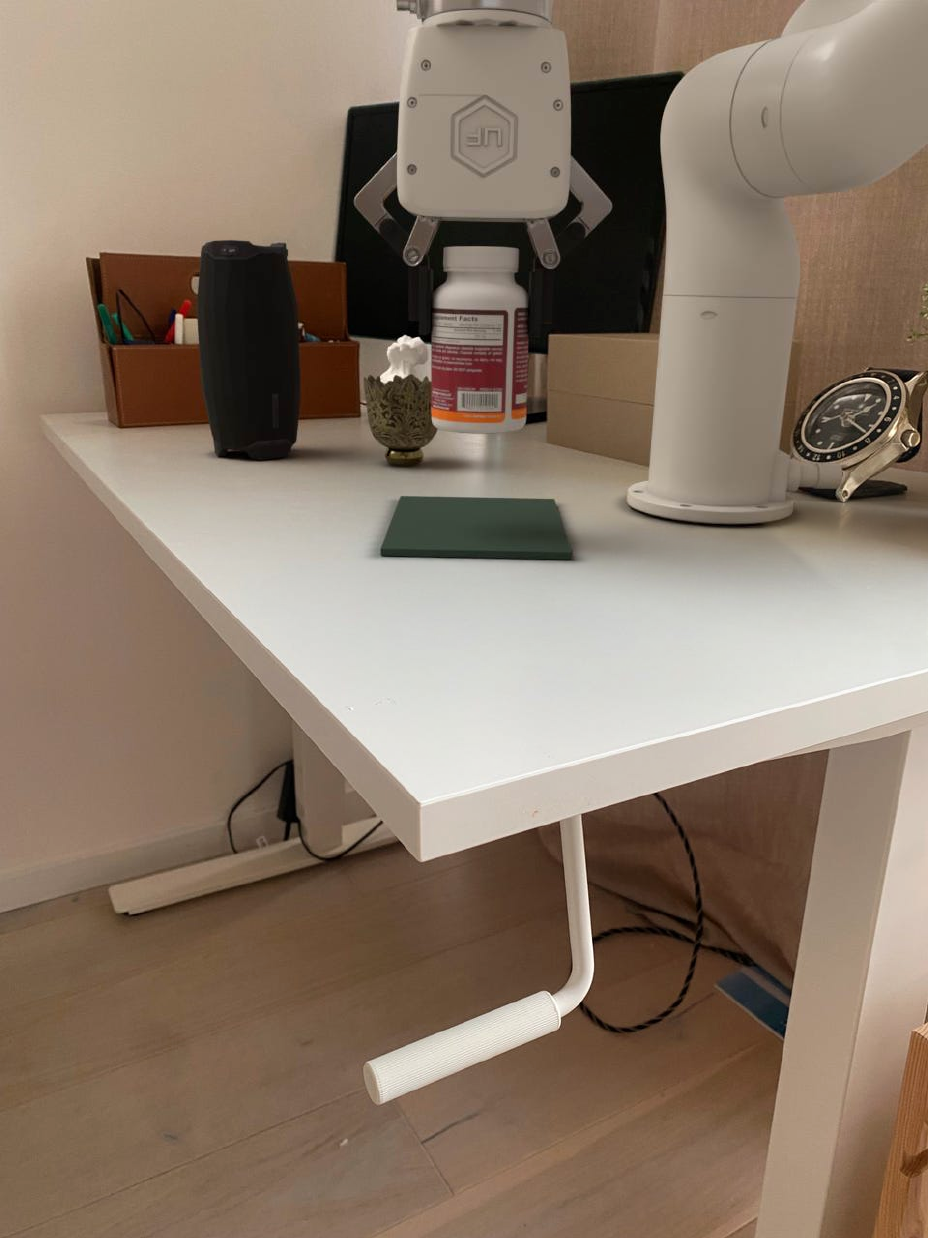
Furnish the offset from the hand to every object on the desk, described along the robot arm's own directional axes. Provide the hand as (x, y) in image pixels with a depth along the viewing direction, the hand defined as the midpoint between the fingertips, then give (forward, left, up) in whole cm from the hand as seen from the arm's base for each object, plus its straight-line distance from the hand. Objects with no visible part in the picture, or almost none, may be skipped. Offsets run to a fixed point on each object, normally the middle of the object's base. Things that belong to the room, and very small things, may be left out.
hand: (479, 332), depth 62 cm
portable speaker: (+22, -32, -14) cm, 41 cm away
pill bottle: (0, 0, -6) cm, 6 cm away
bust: (+10, -57, -14) cm, 60 cm away
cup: (+7, -28, -14) cm, 32 cm away
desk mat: (0, -3, -13) cm, 14 cm away
